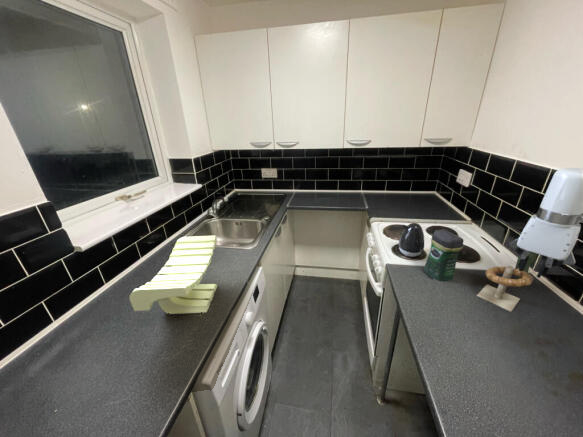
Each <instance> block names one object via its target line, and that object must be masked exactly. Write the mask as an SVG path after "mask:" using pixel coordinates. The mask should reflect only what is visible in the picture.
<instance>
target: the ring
mask: <svg viewBox="0 0 583 437" xmlns="http://www.w3.org/2000/svg"><path fill="white" fill-rule="evenodd" d="M514 268H515V267H514ZM505 269H506V266H500V265H499V266H493V267H489V268H488V269H487V270H486V271H484V272H485V273H484V274H485V276H486V278H487V279H488V280H489V281H492V282H493V283H496V284H498V285H499V284H501V285H505V286H507V287H513V288H514V287H515V288H522V287H527V286H530V285H531V284H532V283H533V282H534V277H533V276H532V275H531V274H530V273H529V272H528V273H527V272H525V271H519V269H517V268H515V270H514V273H513V275H512V276H514V275H517V276H519V277H521V279H516V278H511V279H507V278H503V277H502V276H499V275H497V274H504V271H505Z"/></svg>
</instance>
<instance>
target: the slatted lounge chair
mask: <svg viewBox="0 0 583 437" xmlns="http://www.w3.org/2000/svg"><path fill="white" fill-rule="evenodd" d="M217 242H218V240H217V235H215V234H214V235H193V236H182V237H179V238H178V239H177V240H176V242H175V244H174V247H173V248H172V252H171V253H170V255H169V258H168V260H167V261H166V262H165V264H163V265H164V266H162V267H161V269H160V270H159V271H158V272H157V273H156V275H155V276H154V277H153V278H152V279H151V280H150V281H147V282H146V283H145V284H144V285H141V286H139V287H138V288H134V289H133V291H132V292H131V293H130V294H129V301H130V304H131V307H132V308H133V311H134V312H144V311H145V312H146V311H151V309H152V308H153V305H154V303H155V302H157V304H158V305H159V307H160V308H161V310H162V311H163V312H164V313H165V314H168V313H169V314H168V315H175V314H176V315H178V314H179V315H180V314H197V313H199V314H201V312H202V313H207V312H208V310H209V308H210V305H211V303H212V301H213V298H214V296H215V293H216V291H217V289H218V285H217V283H201V281H202V279H203V278H204V275H205V274H206V272H207V270H208V267H209V266H210V264H211V262H212V259H213V258H212V257H213V255H214V251H215V249H216V244H217Z"/></svg>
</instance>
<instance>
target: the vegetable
mask: <svg viewBox="0 0 583 437" xmlns="http://www.w3.org/2000/svg"><path fill="white" fill-rule="evenodd" d="M538 255H539V254H537V253H534V252H530V253H529V254H528V256H529V260H528V262H527V264H526V266H525V268H524V270H523V271H525V272H527V273H529V272H530V268H531V265H532V263H533V261H535V259H536V258H537V256H538ZM520 260H521V258H520V255H519V254H518V258H517V261H516V264H515V266H514V268H517V269H520V267H519V266H518V264H519V262H520ZM513 277H514V279H521V277H519V276H517V275H513Z"/></svg>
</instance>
